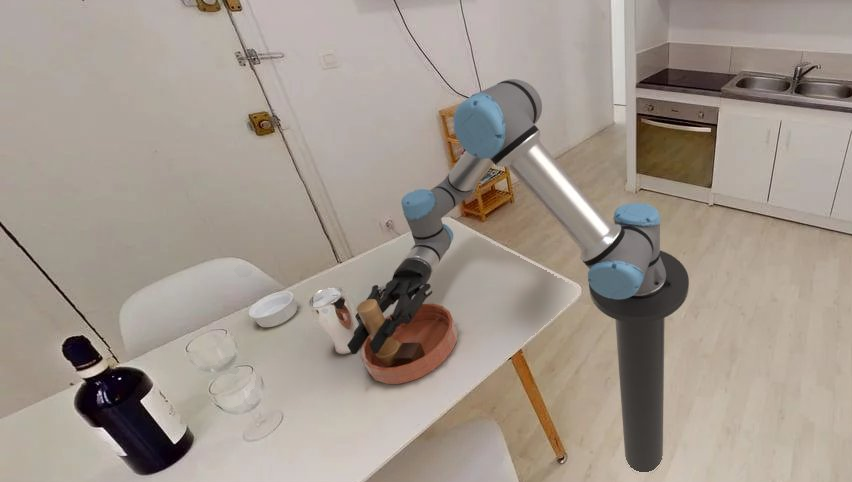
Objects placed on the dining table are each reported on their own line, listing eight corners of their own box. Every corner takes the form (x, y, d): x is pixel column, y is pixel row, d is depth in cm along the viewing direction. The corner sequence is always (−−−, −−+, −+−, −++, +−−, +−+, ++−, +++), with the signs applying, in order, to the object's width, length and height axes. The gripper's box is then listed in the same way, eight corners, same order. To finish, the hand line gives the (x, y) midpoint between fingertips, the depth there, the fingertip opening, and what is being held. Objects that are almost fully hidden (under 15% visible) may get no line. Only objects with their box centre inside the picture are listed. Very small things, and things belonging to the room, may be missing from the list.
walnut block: (425, 354, 92) (420, 342, 90) (416, 370, 89) (411, 357, 87) (407, 354, 92) (402, 342, 90) (398, 370, 89) (392, 358, 87)
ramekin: (260, 335, 98) (251, 323, 96) (253, 317, 104) (245, 304, 101) (304, 314, 104) (296, 302, 102) (296, 297, 109) (288, 285, 107)
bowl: (468, 317, 102) (464, 302, 100) (437, 384, 86) (431, 369, 84) (395, 318, 102) (389, 304, 100) (351, 386, 86) (342, 371, 84)
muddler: (407, 348, 92) (384, 296, 84) (397, 366, 88) (371, 314, 80) (386, 348, 92) (361, 297, 84) (375, 366, 88) (348, 314, 80)
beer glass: (337, 337, 97) (310, 290, 90) (370, 327, 100) (347, 281, 92) (330, 360, 92) (302, 312, 84) (366, 349, 94) (341, 302, 87)
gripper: (453, 279, 103) (410, 360, 82) (387, 281, 103) (327, 363, 82) (446, 256, 99) (398, 335, 79) (377, 258, 99) (312, 337, 79)
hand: (362, 349), depth 80 cm, fingers closed on muddler, 4 cm apart
